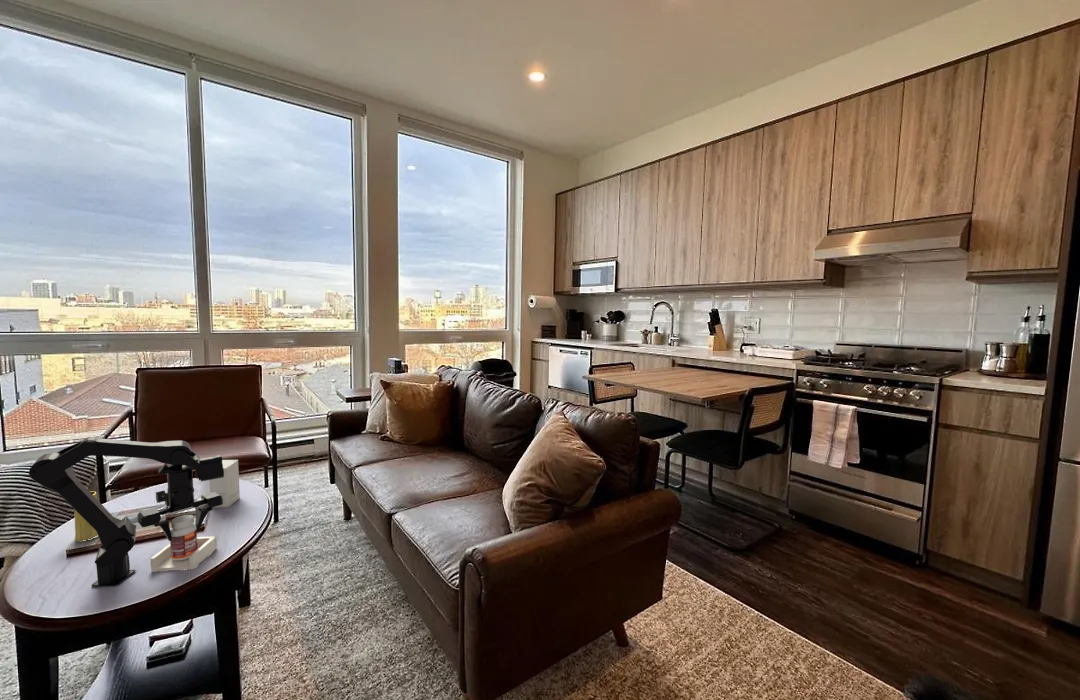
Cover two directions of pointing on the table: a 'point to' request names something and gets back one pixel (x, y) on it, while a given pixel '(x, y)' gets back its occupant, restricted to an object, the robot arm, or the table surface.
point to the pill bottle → (183, 537)
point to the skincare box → (227, 483)
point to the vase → (83, 526)
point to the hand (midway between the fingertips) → (183, 535)
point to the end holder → (165, 562)
